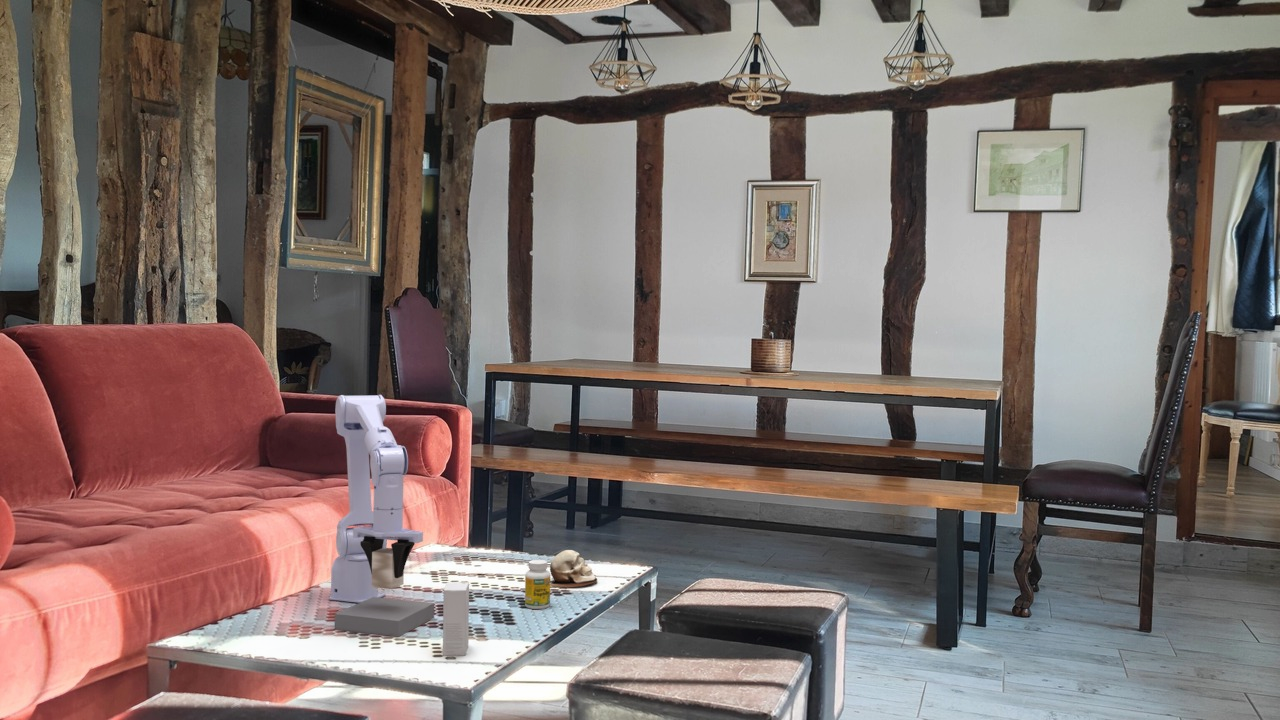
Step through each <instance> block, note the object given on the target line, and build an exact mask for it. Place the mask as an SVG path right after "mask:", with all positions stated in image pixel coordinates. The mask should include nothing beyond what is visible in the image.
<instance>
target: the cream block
mask: <svg viewBox="0 0 1280 720" xmlns="http://www.w3.org/2000/svg"><path fill="white" fill-rule="evenodd" d="M404 574H405V572H403V576H402V577H399V578H395V577H394V556H393V551H392V547H391V548H390V547H386V548H382V549H379V550H376V551H373V552H372V587H374V588H378V589H386V590H393V589H395V588H398V587H401V586H403V585H404V580H405V579H404Z"/></svg>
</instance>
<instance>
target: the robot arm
mask: <svg viewBox="0 0 1280 720" xmlns="http://www.w3.org/2000/svg"><path fill="white" fill-rule="evenodd" d="M334 411H335V428H336V433H337V434H338V435H339V436H341V437H343V438H344V441H345V446H346V447H345V448H346V465H347V468H346V469H347V483H348V484H347V486H348V505H349V512H348V513H347V514H346V515H345V516H343V517H342V518H341V519H339V521H338V523H337V525H336V536H335V539H336V540H335V546H336V552H337V554H338V556H337V557H336V558H335V559H334V561H333V563H332V566H331V572H330V573H331V574H330V577H331V578H330V579H331V580H330V581H331V582H330V596H329V597H328V600H331V601H340V602H349V603H356V604H358V603H360V602H363V601H365V600H367V599H370V598H372V597H381V598H384V597H385V596H386V595H387V593H386V592H380V591H379V588H374V587H372V552H373V551H376V550H379V549H382V548H387V545H388V541H396V542H393V543H391V545H390V546H391V548H392V551H393V556H394V577H395V578H399V577H402V576H403V572H404V571H405V567H406V564H407V561H408V558H409V556H410V553H411V551H412V549H413V548H414V547H415V544H419V543H422V542H423V541H424V532H423V531H419V530H412V529H409V528H404V527H403V525H404V521H403V520H404V476H406V474H407V472H408V467H409V457H408V452H407V449H406V447H405V446H404V445H399V444H397V441H396V439H395V437H394V435H393V433H392V431H391V429H390V428H388V427H387V426H384V423H383V422H384V421H385V420H386V414H387V403H386V399H385V397H384V396H383V395H382V394H378V395H376V394H375V395H344V394H341V395H338V397H337V399H336V401H335V410H334ZM371 484H372V485H373V505H372V490H371ZM372 506H373V507H372ZM372 509H373V510H372ZM404 573H405V572H404Z"/></svg>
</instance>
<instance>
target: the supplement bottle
mask: <svg viewBox="0 0 1280 720" xmlns="http://www.w3.org/2000/svg"><path fill="white" fill-rule="evenodd" d="M527 567H528V569H529V570H527V571H526V573H525V575H524V576H525V577H524V580H525V581H524V584H525V585H524V586H525V587H524V588H525V590H524V594H525V595H524V605H525V607H526V608H527V609H531V610H542V609H547V608H549V607H550V605H551V586H550V584H551V572H550V570H549V571H548V570H547V569H548V561H547V560H544V559H532V560H529V561H528V566H527Z"/></svg>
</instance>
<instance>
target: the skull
mask: <svg viewBox="0 0 1280 720" xmlns="http://www.w3.org/2000/svg"><path fill="white" fill-rule="evenodd" d="M549 565H550V567H549V573H550V576H552V579H553V581H552V582H551V583H550V587H555V588H575V587H584V586H589V585H590V584H594V583H596V582H597V581H598V578H597V576H596V575H594V573H593V571H592V570H593V569H592V568H591V567H590V565H588V563H587V562H586V559H585V558H583V557H580V553H579V552H577V551H575V550H572V549H565V550H562V551H561V552H559V553H558V554H557V555H555V556H554V557H553V558H552V559H551V561H550V564H549Z"/></svg>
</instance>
